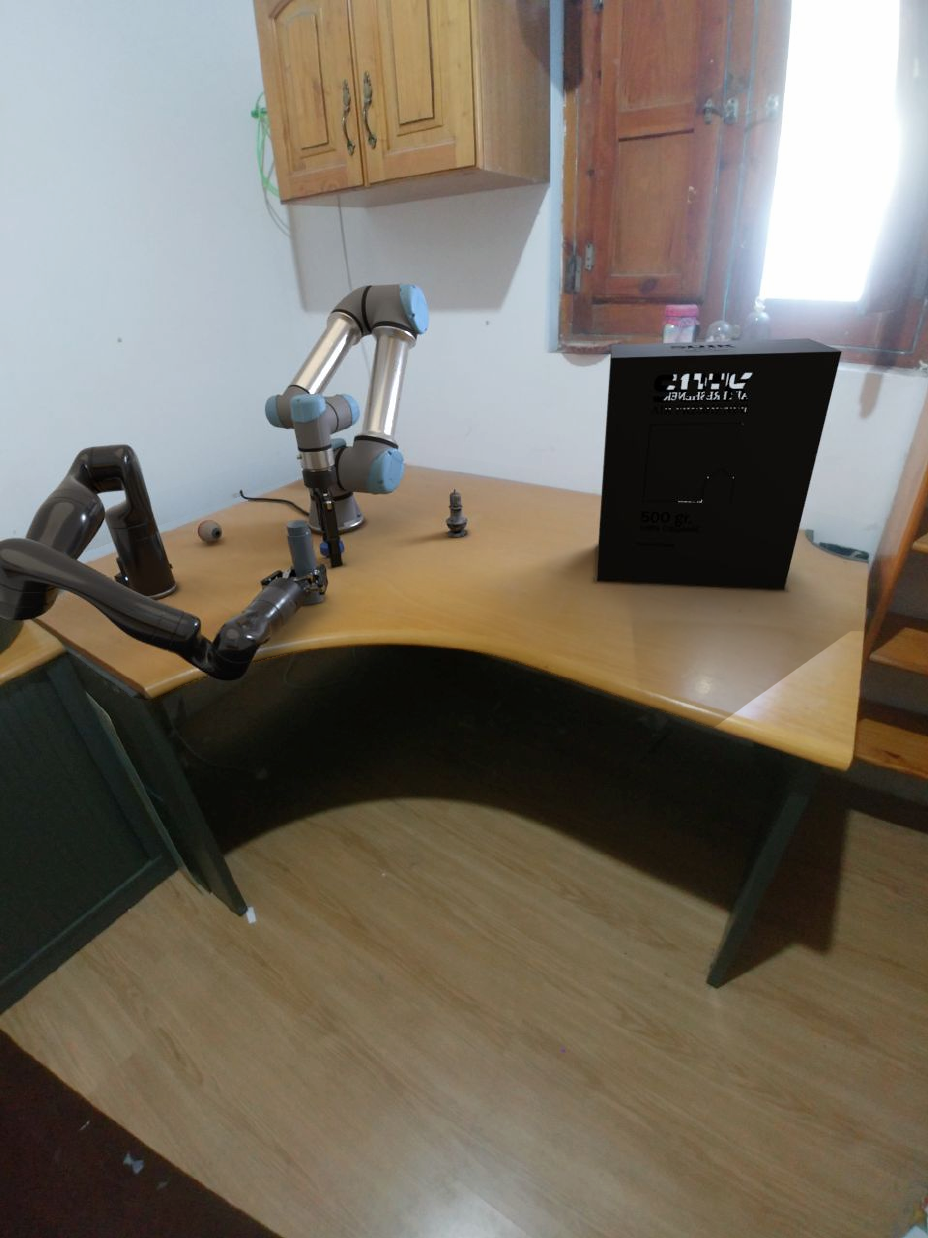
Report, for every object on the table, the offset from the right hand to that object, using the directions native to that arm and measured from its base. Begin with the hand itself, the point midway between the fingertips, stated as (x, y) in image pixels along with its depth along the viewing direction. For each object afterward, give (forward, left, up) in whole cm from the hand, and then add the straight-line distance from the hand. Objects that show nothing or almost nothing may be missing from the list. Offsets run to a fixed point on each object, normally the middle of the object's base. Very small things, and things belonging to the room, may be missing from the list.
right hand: (334, 560), depth 148 cm
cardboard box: (+58, +59, 0) cm, 82 cm away
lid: (0, 0, +4) cm, 4 cm away
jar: (+15, -13, 0) cm, 20 cm away
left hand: (+13, -11, +6) cm, 18 cm away
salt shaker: (+7, +33, 0) cm, 33 cm away
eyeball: (-34, -19, 0) cm, 39 cm away
